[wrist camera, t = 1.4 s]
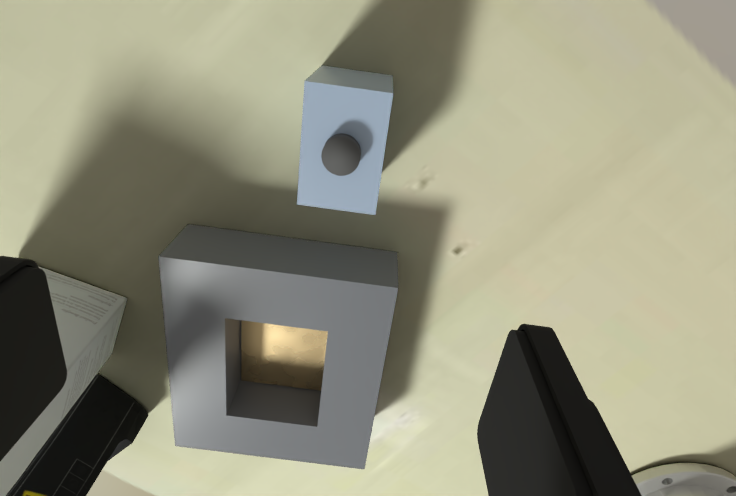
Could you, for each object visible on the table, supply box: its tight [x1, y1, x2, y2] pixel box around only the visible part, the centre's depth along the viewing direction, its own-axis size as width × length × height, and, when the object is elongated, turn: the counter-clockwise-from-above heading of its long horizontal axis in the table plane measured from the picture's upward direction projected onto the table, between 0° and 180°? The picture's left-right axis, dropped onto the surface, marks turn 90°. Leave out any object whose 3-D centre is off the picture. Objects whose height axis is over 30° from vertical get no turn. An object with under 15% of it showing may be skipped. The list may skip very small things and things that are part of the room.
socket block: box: [158, 224, 398, 469], centre depth 33 cm, size 14×16×4 cm
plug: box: [297, 65, 393, 215], centre depth 25 cm, size 4×6×7 cm, turn 173°
